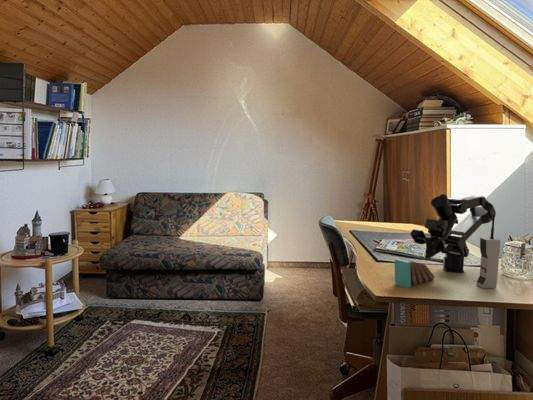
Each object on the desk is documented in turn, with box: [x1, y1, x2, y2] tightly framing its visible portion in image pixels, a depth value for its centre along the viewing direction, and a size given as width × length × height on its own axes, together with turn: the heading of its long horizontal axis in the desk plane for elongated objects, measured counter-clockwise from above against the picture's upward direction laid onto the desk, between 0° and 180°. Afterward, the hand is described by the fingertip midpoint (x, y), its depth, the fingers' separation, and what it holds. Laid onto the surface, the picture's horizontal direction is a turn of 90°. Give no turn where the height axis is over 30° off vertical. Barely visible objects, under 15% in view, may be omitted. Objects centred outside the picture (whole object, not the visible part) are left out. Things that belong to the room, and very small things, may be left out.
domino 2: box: [399, 257, 418, 287], centre depth 146 cm, size 2×5×9 cm, turn 37°
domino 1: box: [394, 258, 412, 289], centre depth 144 cm, size 2×5×9 cm, turn 39°
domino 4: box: [416, 262, 430, 283], centre depth 150 cm, size 2×5×9 cm
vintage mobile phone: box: [475, 215, 501, 289], centre depth 145 cm, size 4×5×25 cm
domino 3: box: [413, 261, 424, 285], centre depth 148 cm, size 2×5×9 cm
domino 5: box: [418, 262, 435, 281], centre depth 152 cm, size 2×5×9 cm
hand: (426, 258), depth 153 cm, fingers closed
